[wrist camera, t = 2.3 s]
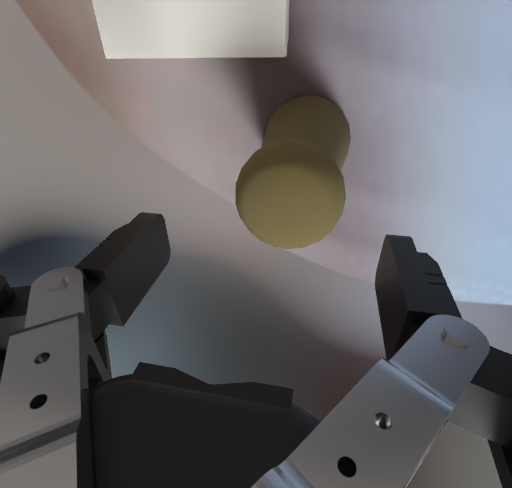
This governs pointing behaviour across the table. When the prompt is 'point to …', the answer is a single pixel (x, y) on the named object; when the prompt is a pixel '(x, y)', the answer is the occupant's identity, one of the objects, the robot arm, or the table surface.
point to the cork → (296, 174)
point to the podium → (193, 28)
